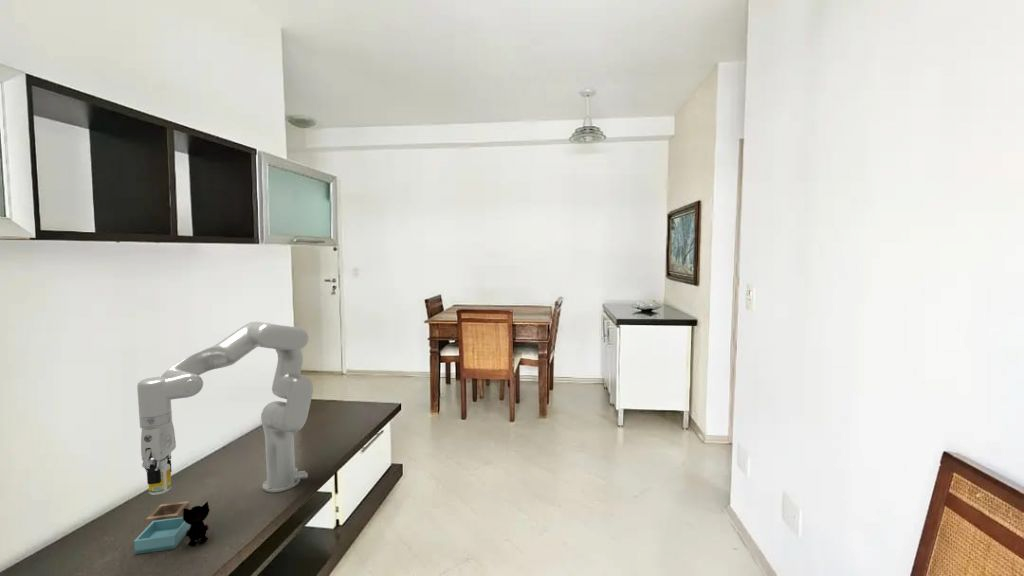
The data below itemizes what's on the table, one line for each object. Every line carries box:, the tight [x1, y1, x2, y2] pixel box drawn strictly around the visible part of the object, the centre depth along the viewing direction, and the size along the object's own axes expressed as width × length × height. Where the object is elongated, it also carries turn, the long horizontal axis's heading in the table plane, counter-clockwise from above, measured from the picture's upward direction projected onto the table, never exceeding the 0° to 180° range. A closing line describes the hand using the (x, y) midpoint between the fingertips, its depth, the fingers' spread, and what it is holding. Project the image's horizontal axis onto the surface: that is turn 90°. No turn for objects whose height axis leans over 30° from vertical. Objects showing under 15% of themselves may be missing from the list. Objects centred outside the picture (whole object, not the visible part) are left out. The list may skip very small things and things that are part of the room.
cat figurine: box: [183, 500, 210, 547], centre depth 135 cm, size 7×7×12 cm
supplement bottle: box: [148, 457, 172, 496], centre depth 135 cm, size 5×5×10 cm
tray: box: [133, 517, 191, 555], centre depth 136 cm, size 10×10×4 cm
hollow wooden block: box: [145, 500, 191, 529], centre depth 147 cm, size 9×9×4 cm
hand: (159, 477), depth 135 cm, fingers closed on supplement bottle, 5 cm apart
